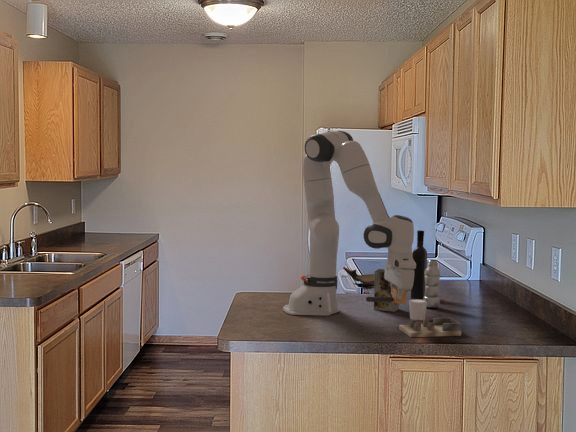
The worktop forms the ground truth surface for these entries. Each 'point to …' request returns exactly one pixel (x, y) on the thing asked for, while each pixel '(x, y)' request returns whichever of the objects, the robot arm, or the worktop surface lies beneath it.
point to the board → (432, 328)
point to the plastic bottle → (432, 284)
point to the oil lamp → (361, 277)
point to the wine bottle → (419, 267)
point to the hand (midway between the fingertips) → (396, 296)
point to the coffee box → (383, 292)
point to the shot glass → (417, 309)
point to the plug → (389, 299)
